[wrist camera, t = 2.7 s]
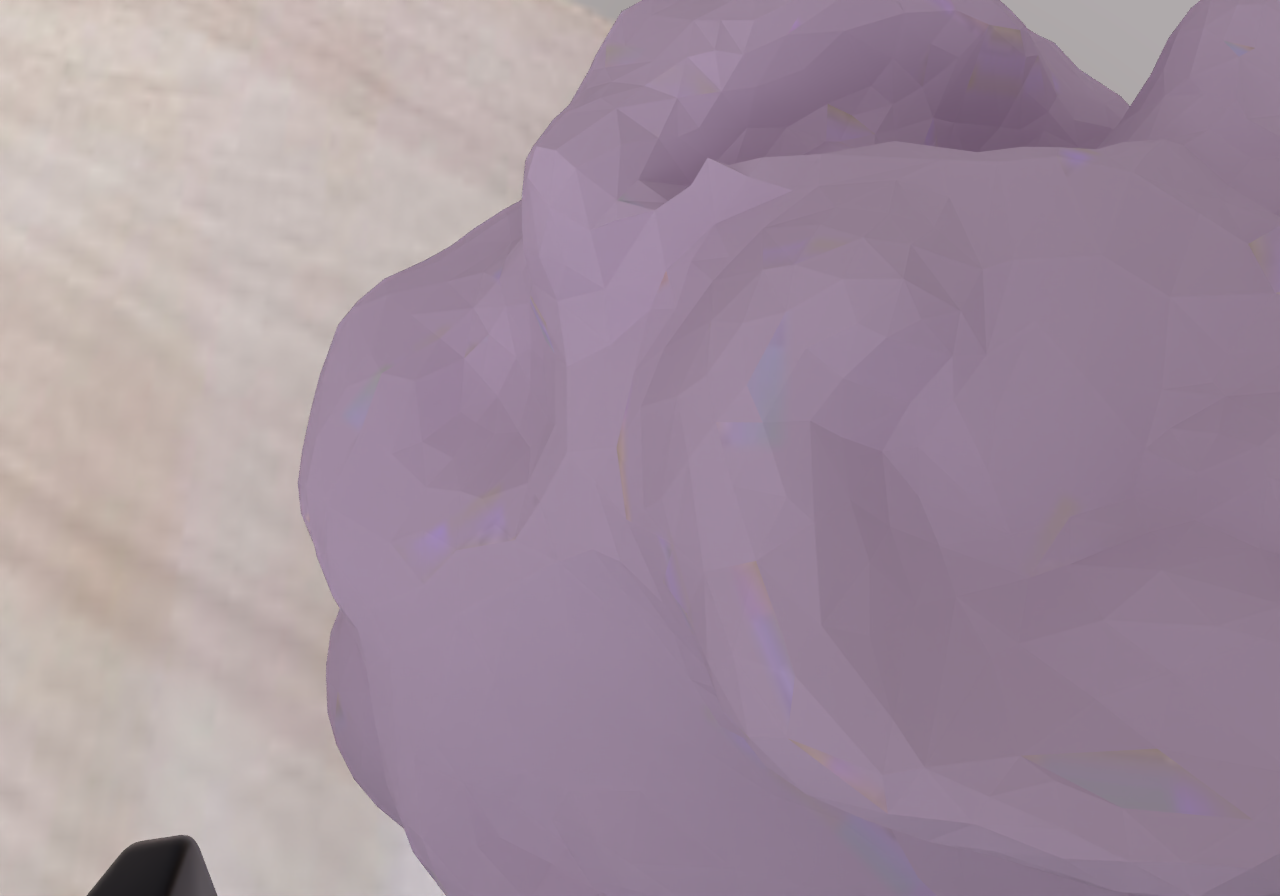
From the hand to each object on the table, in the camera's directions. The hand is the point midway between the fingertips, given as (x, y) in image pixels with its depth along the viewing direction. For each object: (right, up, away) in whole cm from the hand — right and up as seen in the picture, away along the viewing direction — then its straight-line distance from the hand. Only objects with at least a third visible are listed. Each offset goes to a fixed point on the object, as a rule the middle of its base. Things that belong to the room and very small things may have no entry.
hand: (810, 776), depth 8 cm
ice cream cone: (-1, -1, +10) cm, 10 cm away
